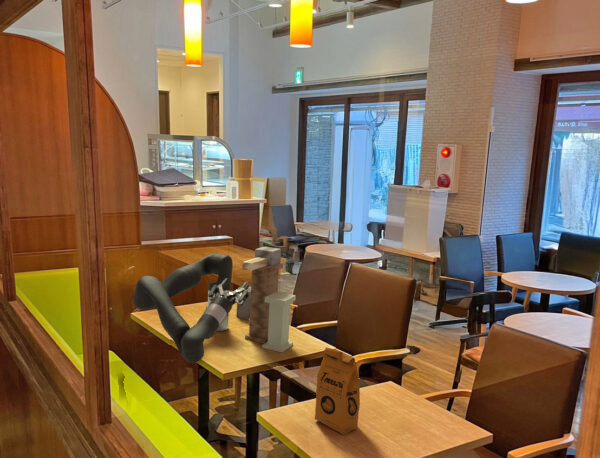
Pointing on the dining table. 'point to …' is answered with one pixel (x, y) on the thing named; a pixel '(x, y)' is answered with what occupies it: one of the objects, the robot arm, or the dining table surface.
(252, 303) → the tall stand
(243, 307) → the pillar candle
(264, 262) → the mallet
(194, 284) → the robot arm
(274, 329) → the pale green square pedestal
